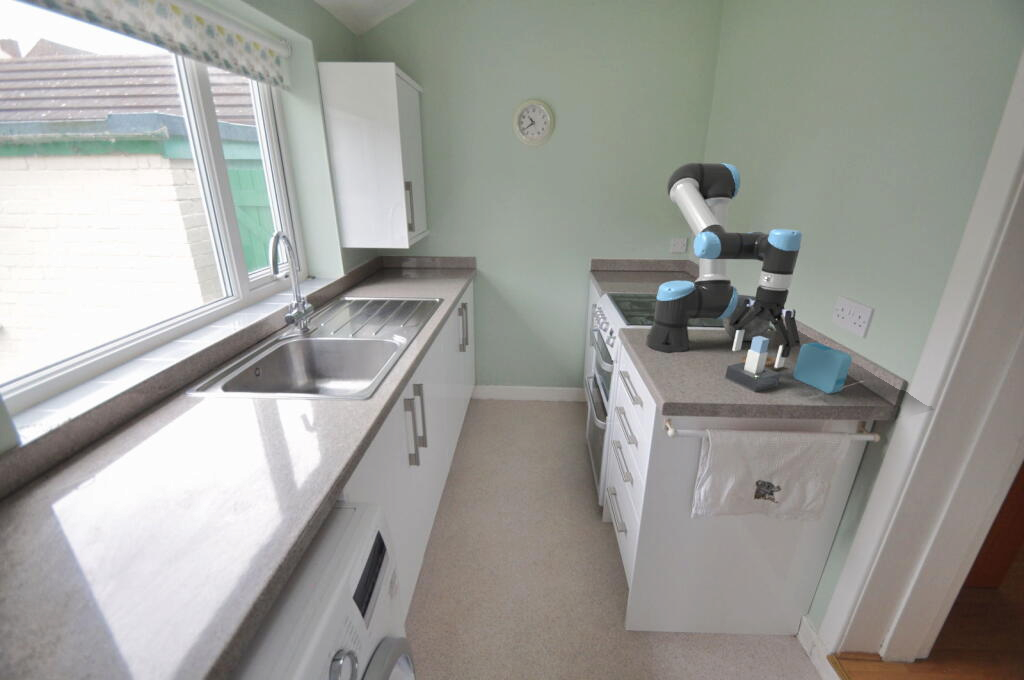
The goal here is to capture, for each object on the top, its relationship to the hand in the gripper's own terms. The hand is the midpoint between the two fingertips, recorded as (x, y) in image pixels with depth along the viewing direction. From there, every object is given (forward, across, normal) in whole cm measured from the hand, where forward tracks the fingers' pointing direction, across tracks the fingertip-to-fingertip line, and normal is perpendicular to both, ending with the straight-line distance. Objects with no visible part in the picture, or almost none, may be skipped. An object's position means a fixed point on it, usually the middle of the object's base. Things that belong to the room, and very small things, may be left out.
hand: (756, 358), depth 126 cm
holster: (+8, -7, +14) cm, 18 cm away
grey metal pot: (+8, -29, +33) cm, 45 cm away
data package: (+8, +9, +17) cm, 21 cm away
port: (+8, 0, 0) cm, 8 cm away
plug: (+7, 0, 0) cm, 7 cm away
